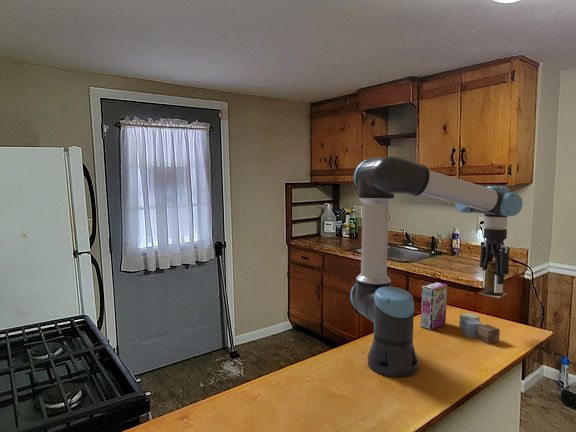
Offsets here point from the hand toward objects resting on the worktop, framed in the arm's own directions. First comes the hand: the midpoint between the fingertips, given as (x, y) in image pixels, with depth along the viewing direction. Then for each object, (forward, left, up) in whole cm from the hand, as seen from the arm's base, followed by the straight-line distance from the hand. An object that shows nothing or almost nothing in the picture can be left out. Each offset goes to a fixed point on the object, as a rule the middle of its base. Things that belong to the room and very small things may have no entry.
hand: (492, 289), depth 144 cm
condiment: (0, 0, -2) cm, 2 cm away
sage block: (-5, +6, -17) cm, 19 cm away
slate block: (-7, 0, -17) cm, 19 cm away
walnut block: (-5, -6, -17) cm, 19 cm away
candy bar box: (-17, +10, -17) cm, 26 cm away
